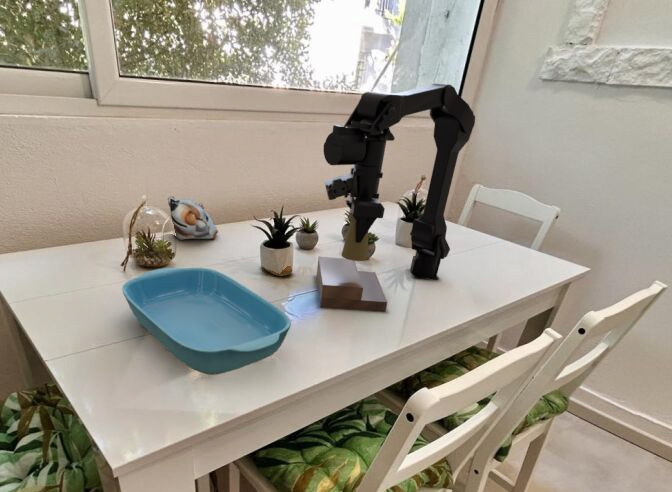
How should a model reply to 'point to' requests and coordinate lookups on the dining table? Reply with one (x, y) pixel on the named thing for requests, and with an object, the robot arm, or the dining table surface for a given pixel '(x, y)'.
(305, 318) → the dining table surface
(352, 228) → the olive green pawn
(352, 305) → the shelf
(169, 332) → the casserole dish
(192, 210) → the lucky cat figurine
